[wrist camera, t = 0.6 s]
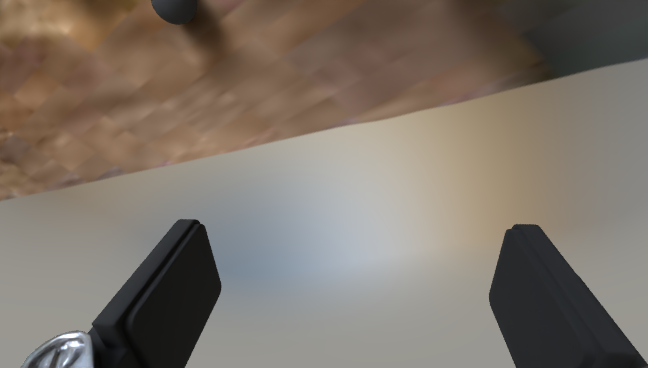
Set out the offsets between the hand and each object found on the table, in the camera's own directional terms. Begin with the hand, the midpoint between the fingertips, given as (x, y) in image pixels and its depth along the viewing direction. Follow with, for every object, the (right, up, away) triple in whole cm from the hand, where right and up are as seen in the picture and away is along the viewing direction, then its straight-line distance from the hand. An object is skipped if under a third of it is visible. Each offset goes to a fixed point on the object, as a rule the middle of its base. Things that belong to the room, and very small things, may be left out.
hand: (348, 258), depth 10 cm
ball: (-15, +20, +21) cm, 32 cm away
